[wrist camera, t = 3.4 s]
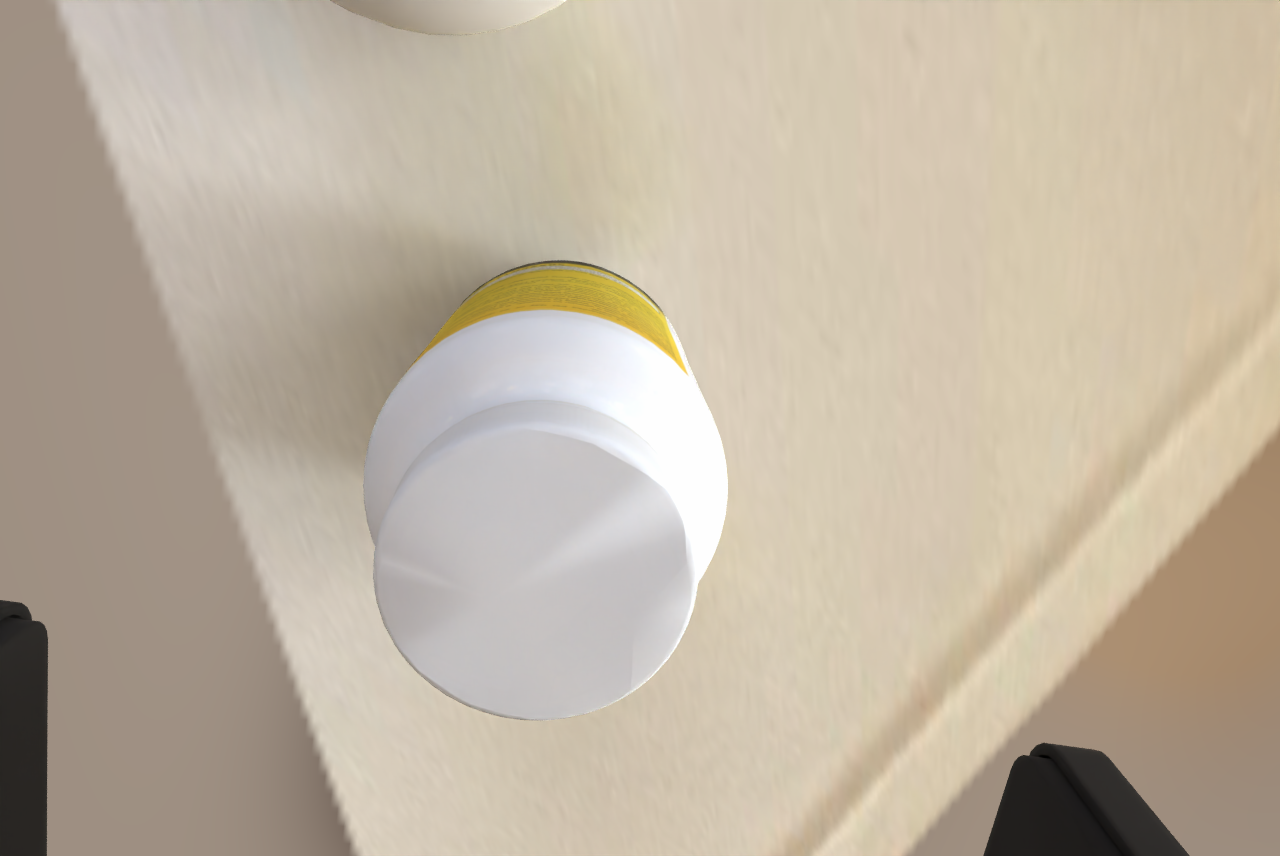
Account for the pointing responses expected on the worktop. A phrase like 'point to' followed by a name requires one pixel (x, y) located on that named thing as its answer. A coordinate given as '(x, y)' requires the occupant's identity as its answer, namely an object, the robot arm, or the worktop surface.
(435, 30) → the mug
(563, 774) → the worktop surface
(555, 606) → the pill bottle
